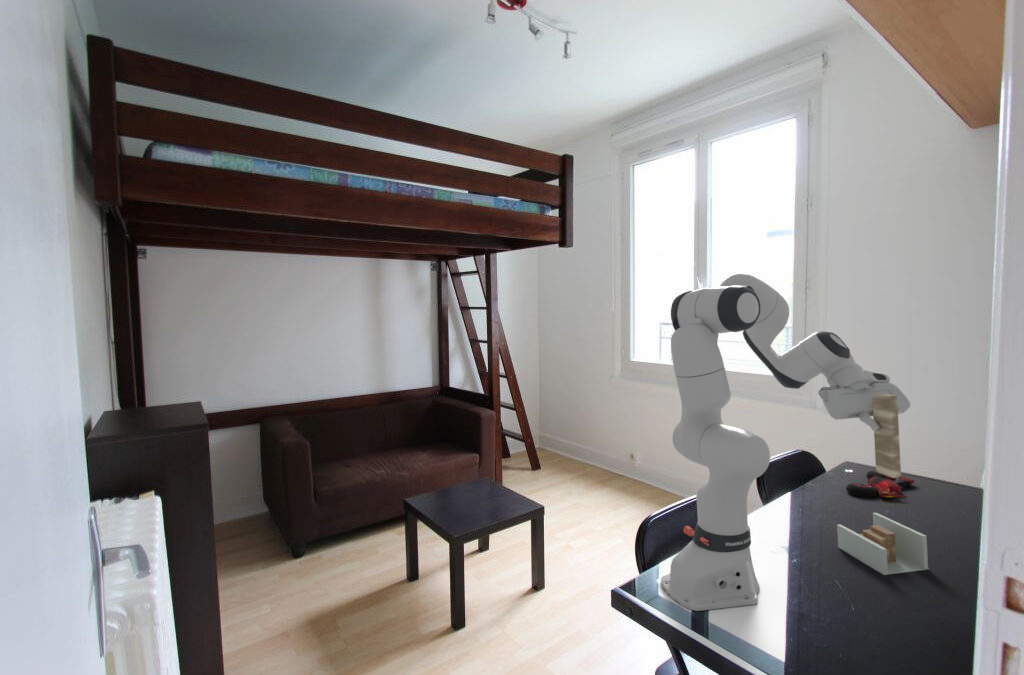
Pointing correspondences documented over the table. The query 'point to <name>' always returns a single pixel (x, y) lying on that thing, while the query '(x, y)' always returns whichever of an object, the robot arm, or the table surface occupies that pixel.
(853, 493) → the toy motorcycle
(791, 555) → the table surface
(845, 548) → the offcut rack
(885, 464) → the birch board
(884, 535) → the offcut stack
